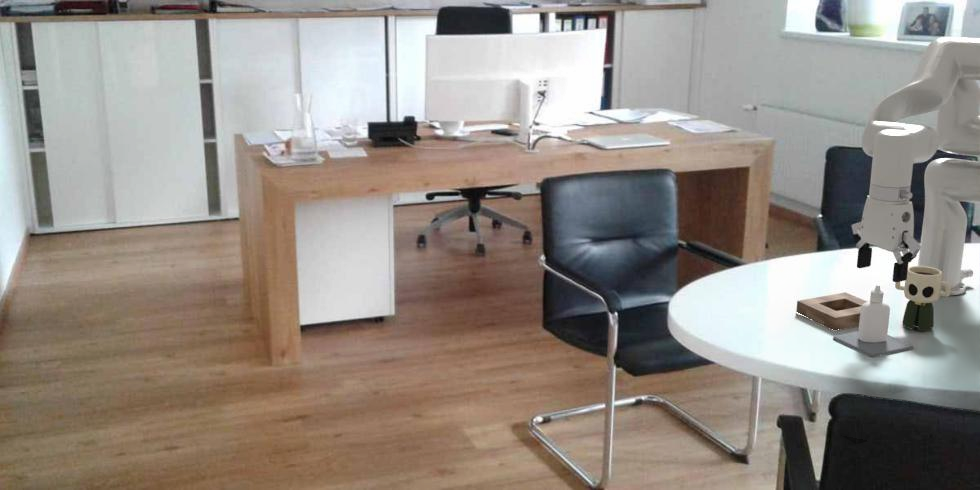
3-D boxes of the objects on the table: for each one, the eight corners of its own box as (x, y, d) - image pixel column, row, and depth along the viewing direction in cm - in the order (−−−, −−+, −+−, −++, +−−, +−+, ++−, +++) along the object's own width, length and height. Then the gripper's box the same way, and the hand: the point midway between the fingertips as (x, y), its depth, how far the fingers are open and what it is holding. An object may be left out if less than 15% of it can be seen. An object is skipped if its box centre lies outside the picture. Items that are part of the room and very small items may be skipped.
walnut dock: (844, 304, 233) (845, 292, 232) (883, 321, 222) (884, 308, 222) (796, 313, 227) (797, 300, 227) (834, 330, 217) (835, 317, 216)
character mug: (887, 328, 218) (894, 271, 215) (893, 318, 224) (900, 262, 221) (942, 337, 213) (950, 279, 209) (946, 327, 219) (954, 270, 215)
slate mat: (872, 331, 217) (873, 328, 217) (912, 348, 207) (913, 345, 207) (833, 338, 212) (833, 336, 212) (872, 357, 203) (872, 354, 203)
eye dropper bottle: (858, 334, 213) (864, 280, 210) (887, 338, 211) (893, 284, 208) (856, 341, 209) (862, 286, 206) (885, 345, 207) (892, 290, 204)
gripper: (938, 200, 195) (928, 283, 200) (871, 181, 210) (863, 259, 215) (909, 204, 192) (899, 289, 197) (843, 185, 207) (836, 264, 212)
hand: (881, 273), depth 206 cm, fingers open, 9 cm apart
